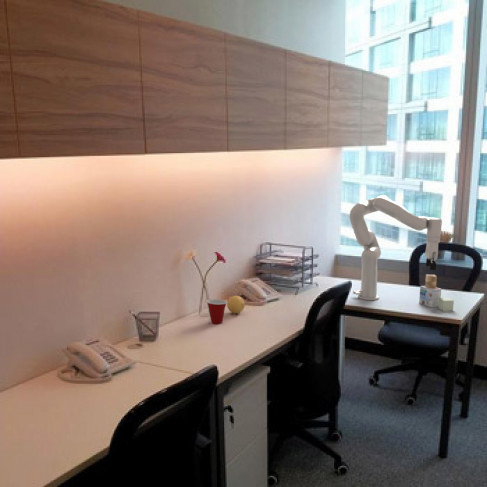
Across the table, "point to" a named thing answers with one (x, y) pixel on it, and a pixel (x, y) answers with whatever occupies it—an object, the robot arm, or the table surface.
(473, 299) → the table surface
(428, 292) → the light bulb box
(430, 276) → the oak block
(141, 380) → the table surface
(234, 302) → the stress ball
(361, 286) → the robot arm
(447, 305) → the sage cube
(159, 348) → the table surface
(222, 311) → the plastic cup
